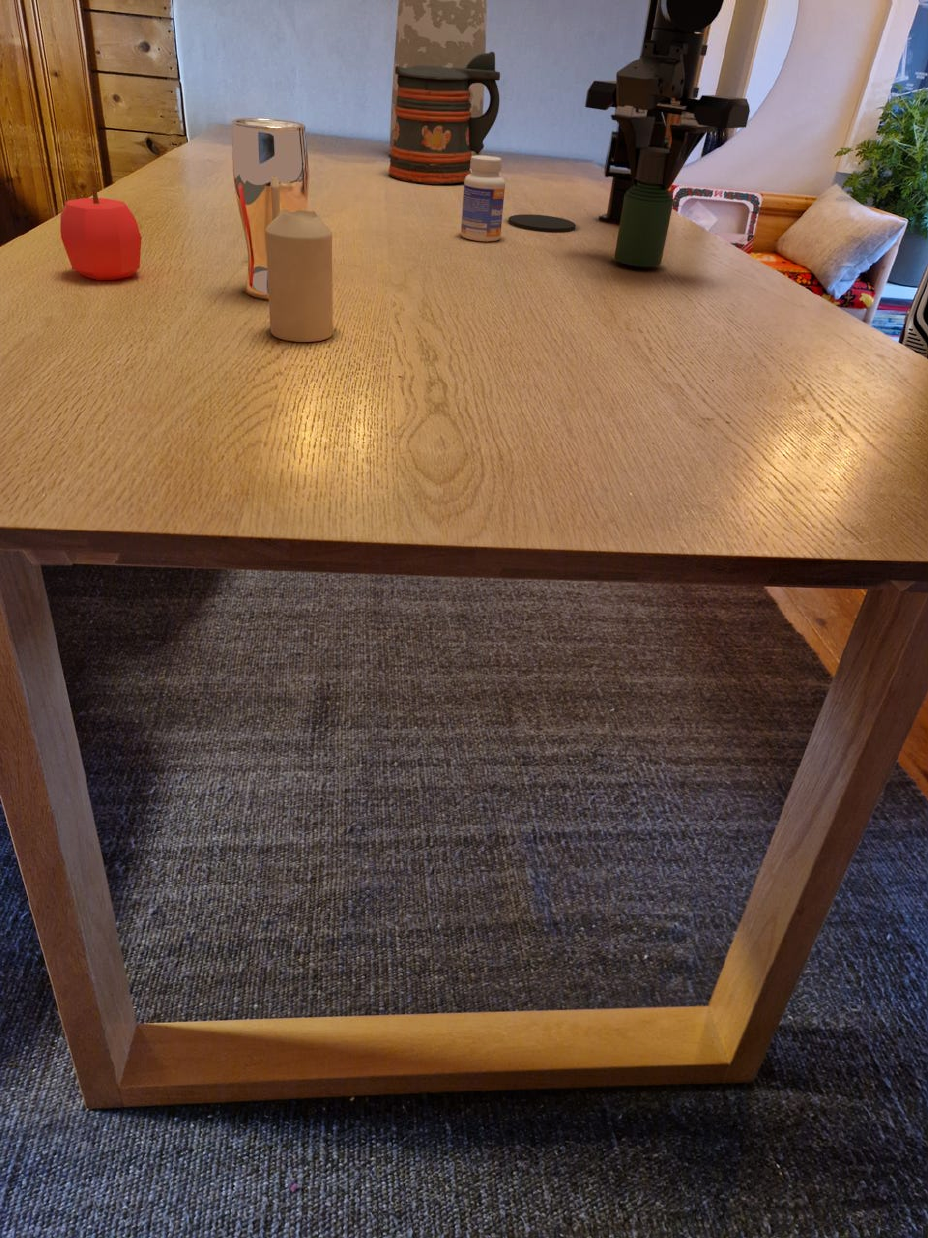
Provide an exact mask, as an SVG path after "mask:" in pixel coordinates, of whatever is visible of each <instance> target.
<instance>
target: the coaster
mask: <svg viewBox="0 0 928 1238" xmlns="http://www.w3.org/2000/svg"><path fill="white" fill-rule="evenodd" d="M507 222H508V224H510V225H512V226H513V227H517V228H520V229H524V230H530V231H537V232H544V233H545V232H546V233H566V232H572V231H575V229H576V228H577V227H576V223H575V222H574V221H572V220H569V219H566V218H562V217H558V216H553V215H552V216H551V215H545V214H531V213H530V214H527V213H526V214H513V215H511V216H509V217H508V220H507Z"/></svg>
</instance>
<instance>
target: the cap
mask: <svg viewBox="0 0 928 1238" xmlns="http://www.w3.org/2000/svg"><path fill="white" fill-rule="evenodd" d="M669 151H670V150H669V149H664V148H657V147H642V148H640V154H639V160H638V166H637V171H636V177H635V179H636V180H638V181H642V182H647V183H654V184H663V180H664V173H665V169H666V164H667V160H668V155H669Z"/></svg>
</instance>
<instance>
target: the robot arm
mask: <svg viewBox="0 0 928 1238" xmlns="http://www.w3.org/2000/svg"><path fill="white" fill-rule="evenodd" d="M724 2H725V0H648V5H647V11H646V16H645V22H644V28H643V33H642V38H641V39H642V40H641V45H640V51H639V56H638V57H639V58H638V59H634V60H633V61H631V62H629V63H628V64H627V65H625V66H624V67H622V68H621V69H619V70H618V71H617V72H616V74H615V80H593V81H592V83H591V84H590V86H589V88H588V89H587V91H586V97H585V104H584V107H585V108H588V109H593V110H600V111H607V110H609V109H610V108H615V110H614V114H610V119H611V121H615V122H617V124H616V130H612V131H611V133H610V138H609V143H608V148H607V153H606V158H605V165H604V170H603V171H604V172H603V174H604V177H605V178H612V180H611V185H610V192H609V198H608V204H607V205H608V206H607V211H606V213H604V214H602V215H601V214H600V215H599V216H598V220H599V221H604V222H611V223H616V224H620V220H621V214H622V208H623V202H624V196H625V193H627V190H629V189H630V188H631V187H632V186H634V184H636V183H637V182H638V180H636V179H635V177H636V171H637V166H638V160H639V154H640V148H642V147H657V148H664V149H669V150H670V151H669V155H668V160H667V164H666V169H665V173H664V180H663V189H665V190H667V189H668V190H670V189H671V187H672V185H673V184H674V182H675V180H676V179H677V178H678V175H679V174H680V172H681V171H682V169H683V167H684V166H685V164H686V162H687V160H688V159H689V157H690V156H691V154H692V153H693V152H694V150H695V148H696V147H697V146H698V145H699V143H700V142H701V140H702V139H703V138H704V137H705V135H706V134H707V133H712V132H713V133H714V132H715V129H717V128H718V129H741V128H747V125H748V122H749V117H750V113H751V109H750V104H749V101H748V99H747V98H745V97H744V98H743V97H736V96H729V95H721V94H702V95H701V96H700V97H699V98H698V96H699V92H700V87H696V86H695V85H696V79H697V76H698V75H697V74H698V69H699V64H700V59H701V56H702V57H706V56H707V52H708V46H709V45H708V44H704V39H705V35H706V34H705V33H706V28H707V27H709V26H710V25H712V23H713V22H714V21H715V20H716V19H717V18H718V16H719V14H720V12H721V10H722V8H723V5H724ZM673 99H674V101H675V102H674V101H672V100H673ZM664 114H670V115H678V116H680V122H679V123H674V124H669V129H670V136H671V141H669V136H666V134H667V124H666V119H665V116H664ZM669 142H670V143H669ZM669 144H670V145H669ZM611 167H615V168H611ZM617 168H618V169H617ZM619 168H621V169H619ZM628 169H629V170H628Z"/></svg>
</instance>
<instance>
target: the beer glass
mask: <svg viewBox="0 0 928 1238" xmlns="http://www.w3.org/2000/svg"><path fill="white" fill-rule="evenodd" d="M231 122H232V123H231V124H232V142H231V143H232V144H231V145H232V152H231V153H232V154H231V155H232V174H233V175H232V176H233V185H234V192H235V198H236V203H237V207H238V213H239V216H240V220H241V221H240V222H241V226H242V229H243V233H244V238H245V239H244V240H245V243H246V250H247V273H246V281H245V292H246V294H247V295H249V296H250V297H254V298H257V299H261V300H268V301H269V295H268V275H267V255H266V236H265V229H266V228H267V226H268V225H269V224H270V223H271V222H272V221H273V220H274V219H275V218H276V217H277V216H278V215H279V214H280V212H281V211H282V210H283V209H285V210H288V211H290V212H295V211H298V210H305V211H308V203H309V193H310V191H309V190H310V189H309V188H310V181H309V180H310V175H309V174H310V173H309V171H310V170H309V157H308V156H309V155H308V146H307V145H308V144H307V135H306V125H305V124H304V123H301V122H299V121H298V122H297V121H291V120H284V119H275V118H262V117H261V118H259V117H244V118H243V117H241V118H233V119H232V120H231Z"/></svg>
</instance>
